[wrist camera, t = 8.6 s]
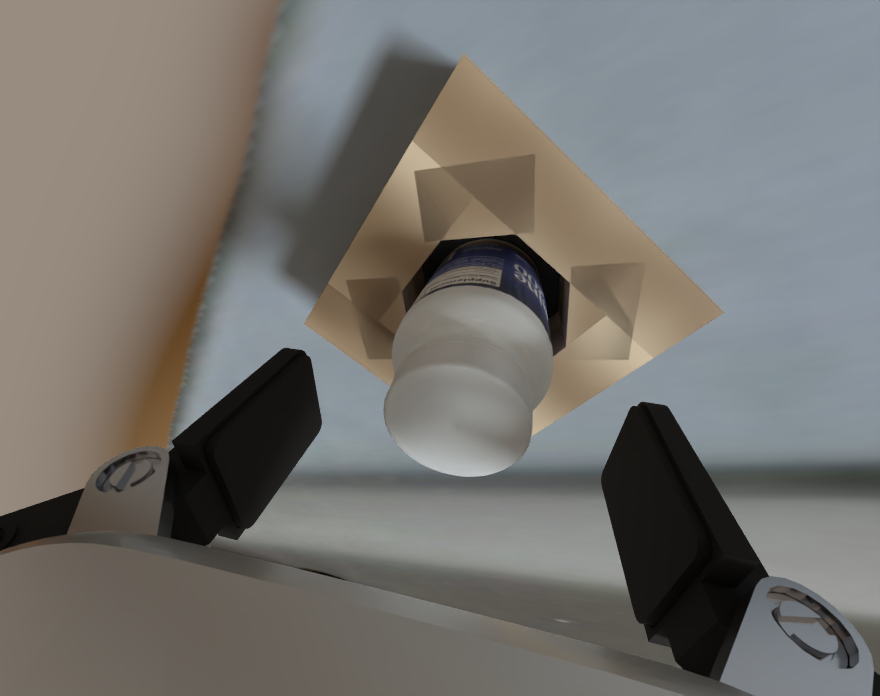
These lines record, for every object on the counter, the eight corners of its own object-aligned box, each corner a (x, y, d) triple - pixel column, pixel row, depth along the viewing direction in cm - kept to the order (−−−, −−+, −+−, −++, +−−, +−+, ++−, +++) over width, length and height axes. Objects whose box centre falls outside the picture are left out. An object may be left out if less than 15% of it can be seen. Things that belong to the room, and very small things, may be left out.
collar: (497, 416, 21) (493, 460, 18) (337, 295, 19) (303, 323, 16) (684, 278, 15) (724, 312, 12) (477, 73, 13) (463, 53, 10)
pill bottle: (549, 329, 17) (572, 495, 9) (449, 343, 19) (395, 493, 11) (534, 223, 15) (550, 321, 7) (422, 249, 17) (325, 353, 8)
